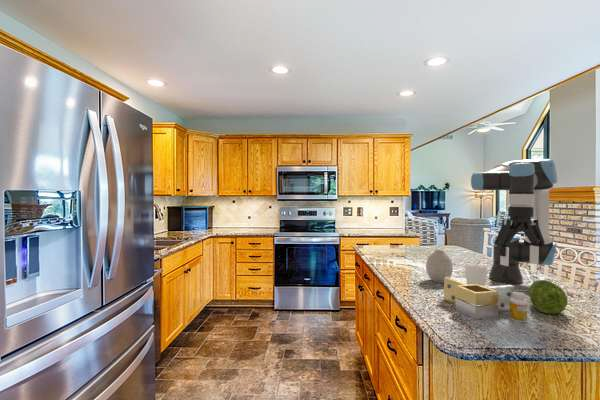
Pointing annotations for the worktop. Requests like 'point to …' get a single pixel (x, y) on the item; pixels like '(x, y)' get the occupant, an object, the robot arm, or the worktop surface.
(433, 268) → the vase
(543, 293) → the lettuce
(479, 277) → the cup
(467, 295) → the beige square frame
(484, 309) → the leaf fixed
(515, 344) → the worktop surface
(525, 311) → the supplement bottle
